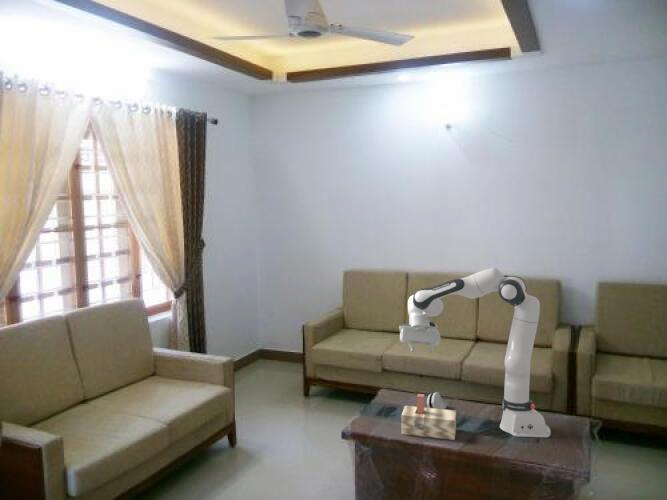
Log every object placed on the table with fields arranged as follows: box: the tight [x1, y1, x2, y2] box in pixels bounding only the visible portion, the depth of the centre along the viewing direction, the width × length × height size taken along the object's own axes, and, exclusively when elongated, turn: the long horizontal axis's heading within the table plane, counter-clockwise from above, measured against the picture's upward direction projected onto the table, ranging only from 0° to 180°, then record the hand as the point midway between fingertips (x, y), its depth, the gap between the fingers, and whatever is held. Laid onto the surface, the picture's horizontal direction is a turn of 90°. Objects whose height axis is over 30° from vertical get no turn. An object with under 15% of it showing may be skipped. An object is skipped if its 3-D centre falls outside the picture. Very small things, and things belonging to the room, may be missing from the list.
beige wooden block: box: [400, 405, 457, 441], centre depth 259 cm, size 24×12×9 cm, turn 75°
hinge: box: [426, 391, 447, 410], centre depth 284 cm, size 17×5×10 cm, turn 159°
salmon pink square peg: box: [416, 393, 425, 414], centre depth 260 cm, size 3×3×14 cm
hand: (421, 351), depth 269 cm, fingers open, 8 cm apart
